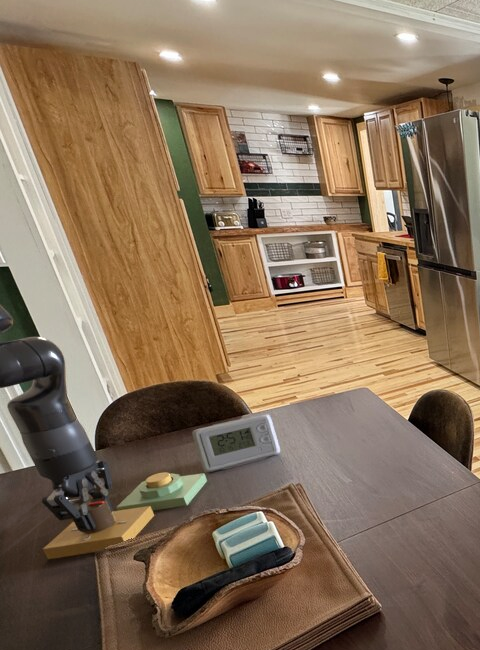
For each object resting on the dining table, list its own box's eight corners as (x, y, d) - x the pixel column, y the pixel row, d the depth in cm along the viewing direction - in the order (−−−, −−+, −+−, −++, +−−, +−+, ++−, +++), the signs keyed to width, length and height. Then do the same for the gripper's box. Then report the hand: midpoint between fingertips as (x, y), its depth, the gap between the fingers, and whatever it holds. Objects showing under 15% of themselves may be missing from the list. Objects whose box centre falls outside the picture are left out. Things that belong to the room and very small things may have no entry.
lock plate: (48, 559, 88) (41, 548, 87) (84, 526, 97) (78, 515, 96) (126, 546, 92) (121, 535, 91) (154, 515, 100) (150, 505, 99)
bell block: (119, 515, 100) (112, 500, 99) (146, 489, 109) (139, 474, 108) (187, 505, 104) (181, 490, 102) (207, 480, 112) (201, 466, 111)
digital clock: (200, 476, 114) (186, 437, 110) (210, 458, 122) (196, 421, 118) (279, 460, 121) (268, 423, 117) (283, 445, 128) (273, 409, 124)
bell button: (144, 490, 103) (141, 483, 102) (154, 480, 106) (151, 473, 106) (166, 487, 104) (163, 480, 103) (175, 477, 107) (173, 471, 107)
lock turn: (77, 535, 91) (65, 513, 89) (92, 520, 95) (81, 499, 93) (106, 530, 92) (95, 508, 90) (120, 516, 96) (110, 494, 94)
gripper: (62, 431, 92) (97, 503, 98) (0, 469, 79) (46, 550, 86) (109, 426, 94) (141, 497, 100) (57, 463, 81) (97, 541, 88)
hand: (97, 521), depth 93 cm, fingers closed on lock turn, 4 cm apart
